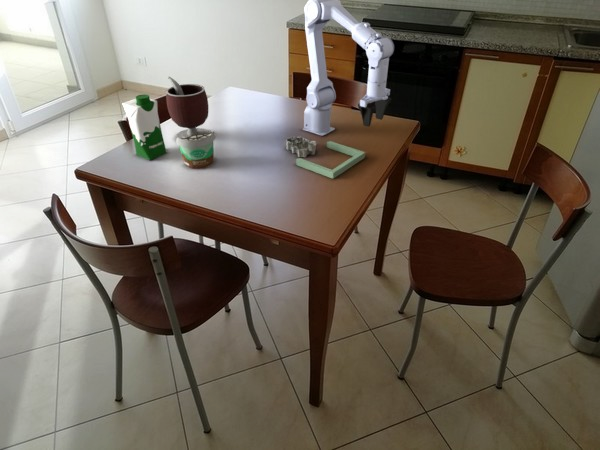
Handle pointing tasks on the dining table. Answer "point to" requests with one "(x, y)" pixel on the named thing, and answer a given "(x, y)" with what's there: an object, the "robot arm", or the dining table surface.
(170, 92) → the mate gourd
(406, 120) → the dining table surface
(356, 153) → the frame
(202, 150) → the food container
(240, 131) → the dining table surface
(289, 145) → the egg carton
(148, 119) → the milk carton
